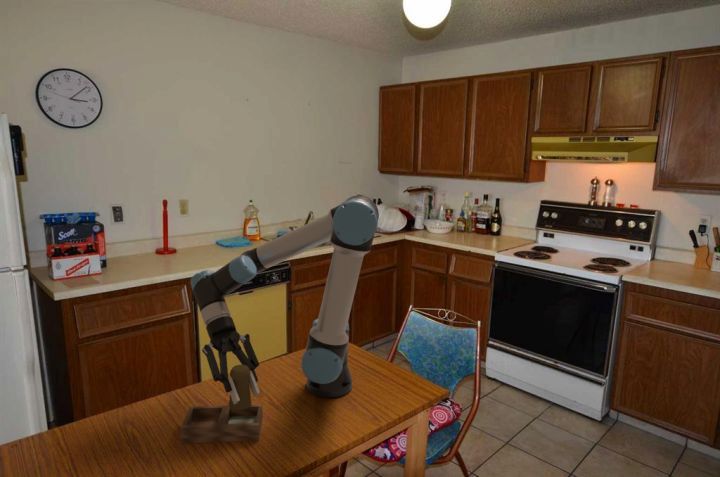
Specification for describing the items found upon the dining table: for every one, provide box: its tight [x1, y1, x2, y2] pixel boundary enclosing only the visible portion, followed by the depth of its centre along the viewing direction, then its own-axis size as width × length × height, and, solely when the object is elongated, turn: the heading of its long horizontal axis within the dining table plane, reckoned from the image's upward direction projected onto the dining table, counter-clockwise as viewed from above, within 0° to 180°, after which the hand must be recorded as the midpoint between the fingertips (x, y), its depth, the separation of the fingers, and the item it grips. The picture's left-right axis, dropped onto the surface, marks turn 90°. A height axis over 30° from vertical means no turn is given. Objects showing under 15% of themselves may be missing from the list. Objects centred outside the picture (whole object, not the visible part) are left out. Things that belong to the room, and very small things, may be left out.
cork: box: [228, 364, 253, 410], centre depth 123 cm, size 6×6×11 cm
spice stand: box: [179, 403, 264, 444], centre depth 124 cm, size 20×10×4 cm, turn 96°
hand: (247, 398), depth 120 cm, fingers closed on cork, 5 cm apart
